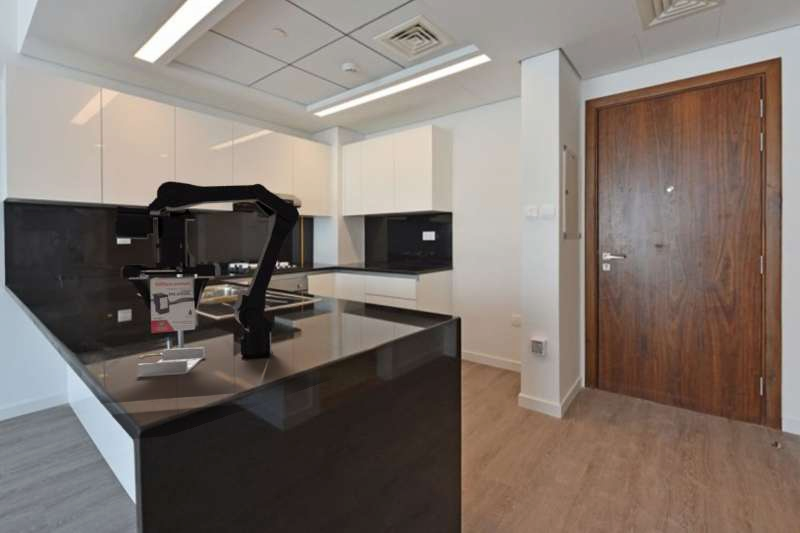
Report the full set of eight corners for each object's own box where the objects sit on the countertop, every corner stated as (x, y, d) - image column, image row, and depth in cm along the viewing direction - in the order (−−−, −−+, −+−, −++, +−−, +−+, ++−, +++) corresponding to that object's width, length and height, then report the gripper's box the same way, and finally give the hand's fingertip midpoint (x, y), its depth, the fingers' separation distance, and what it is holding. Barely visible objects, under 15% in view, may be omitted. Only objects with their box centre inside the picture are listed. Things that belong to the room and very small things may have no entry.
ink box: (150, 333, 84) (149, 278, 84) (153, 329, 88) (151, 277, 88) (195, 329, 88) (194, 277, 87) (195, 326, 92) (194, 276, 92)
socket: (204, 357, 96) (204, 347, 96) (186, 373, 82) (185, 362, 82) (163, 359, 94) (163, 349, 94) (137, 377, 80) (137, 364, 80)
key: (166, 354, 99) (166, 352, 99) (166, 356, 97) (166, 353, 97) (139, 357, 96) (139, 355, 96) (139, 359, 94) (139, 357, 94)
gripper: (225, 241, 97) (226, 304, 98) (141, 241, 93) (142, 306, 94) (214, 239, 87) (215, 309, 87) (118, 238, 83) (120, 312, 83)
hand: (173, 309), depth 88 cm, fingers closed on ink box, 9 cm apart
